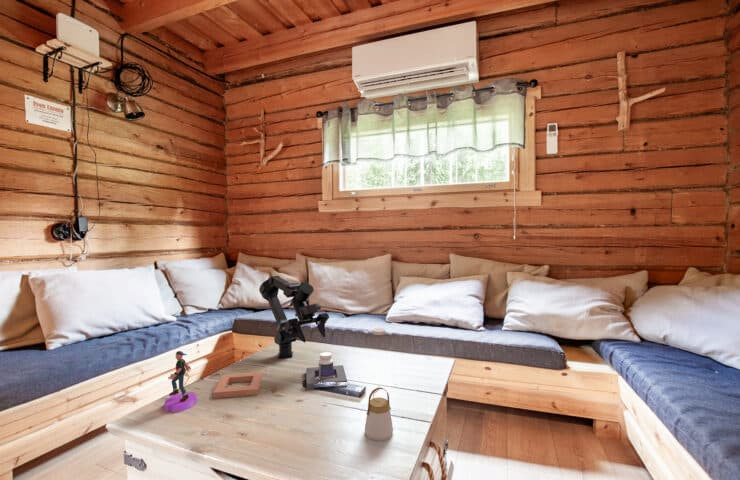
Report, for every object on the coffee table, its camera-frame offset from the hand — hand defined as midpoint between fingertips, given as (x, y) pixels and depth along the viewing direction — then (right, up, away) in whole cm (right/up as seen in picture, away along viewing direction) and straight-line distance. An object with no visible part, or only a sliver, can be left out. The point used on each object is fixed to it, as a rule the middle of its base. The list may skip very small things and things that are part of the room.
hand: (315, 339), depth 143 cm
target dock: (-26, -14, -12) cm, 32 cm away
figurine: (-41, -15, -25) cm, 50 cm away
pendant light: (+25, -15, -41) cm, 51 cm away
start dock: (+5, -14, -5) cm, 16 cm away
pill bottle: (+5, -14, -5) cm, 16 cm away
